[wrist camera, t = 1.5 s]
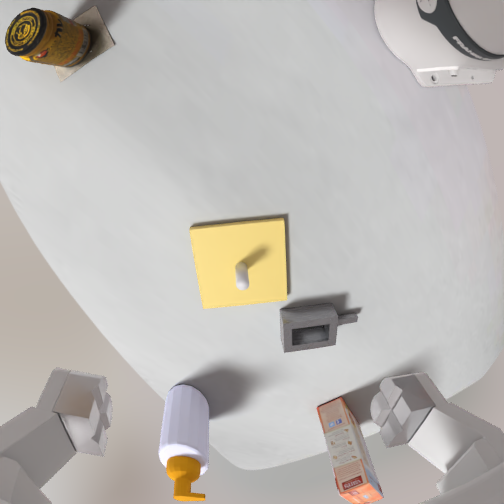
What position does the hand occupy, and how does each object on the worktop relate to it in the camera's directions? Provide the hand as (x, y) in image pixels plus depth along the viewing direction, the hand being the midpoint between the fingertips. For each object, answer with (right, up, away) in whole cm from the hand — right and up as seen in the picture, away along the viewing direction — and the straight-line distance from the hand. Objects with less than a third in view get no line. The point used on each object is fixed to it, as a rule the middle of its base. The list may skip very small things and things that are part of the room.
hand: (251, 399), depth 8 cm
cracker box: (+19, -31, +53) cm, 64 cm away
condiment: (-22, +31, +21) cm, 43 cm away
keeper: (-1, +3, +36) cm, 36 cm away
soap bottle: (-12, -25, +48) cm, 55 cm away
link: (+10, -6, +41) cm, 42 cm away
